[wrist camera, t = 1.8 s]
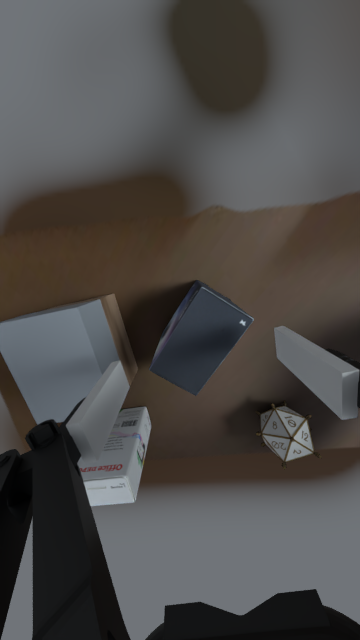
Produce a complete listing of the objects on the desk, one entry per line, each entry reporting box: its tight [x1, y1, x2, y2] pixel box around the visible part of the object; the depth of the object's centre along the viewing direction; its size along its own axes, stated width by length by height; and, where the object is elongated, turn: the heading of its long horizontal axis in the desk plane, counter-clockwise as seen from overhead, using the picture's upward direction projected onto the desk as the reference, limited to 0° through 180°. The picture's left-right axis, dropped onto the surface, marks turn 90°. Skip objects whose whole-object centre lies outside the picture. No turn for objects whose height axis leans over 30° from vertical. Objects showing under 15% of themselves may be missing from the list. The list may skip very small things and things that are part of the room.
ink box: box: [77, 407, 151, 506], centre depth 28 cm, size 8×5×12 cm, turn 100°
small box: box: [149, 280, 253, 396], centre depth 23 cm, size 11×6×10 cm, turn 149°
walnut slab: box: [39, 293, 138, 386], centre depth 28 cm, size 10×13×5 cm
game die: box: [256, 401, 321, 469], centre depth 29 cm, size 9×8×10 cm
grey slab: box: [0, 299, 120, 425], centre depth 23 cm, size 10×13×5 cm
